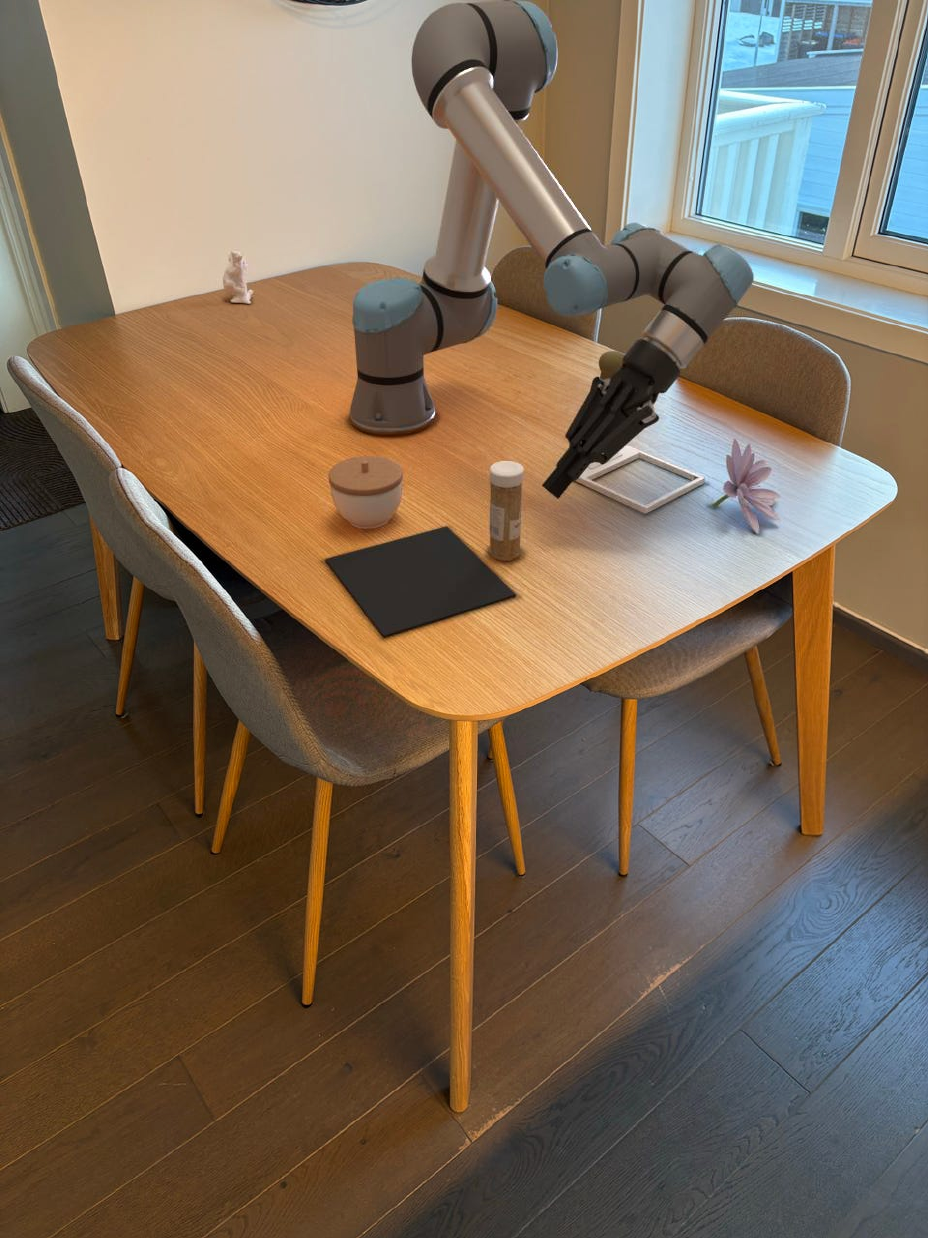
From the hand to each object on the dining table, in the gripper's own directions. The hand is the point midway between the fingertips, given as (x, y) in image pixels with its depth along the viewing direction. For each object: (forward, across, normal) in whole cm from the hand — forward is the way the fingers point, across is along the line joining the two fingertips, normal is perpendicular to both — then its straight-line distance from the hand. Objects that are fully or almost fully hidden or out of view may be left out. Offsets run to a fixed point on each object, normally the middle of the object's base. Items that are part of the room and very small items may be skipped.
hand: (550, 492), depth 129 cm
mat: (+20, 0, +9) cm, 22 cm away
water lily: (-15, -8, -27) cm, 32 cm away
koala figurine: (+9, +128, -2) cm, 128 cm away
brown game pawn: (-18, +33, -30) cm, 48 cm away
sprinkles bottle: (+11, 0, -1) cm, 11 cm away
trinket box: (+20, +18, +8) cm, 28 cm away
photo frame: (-10, +10, -21) cm, 25 cm away
